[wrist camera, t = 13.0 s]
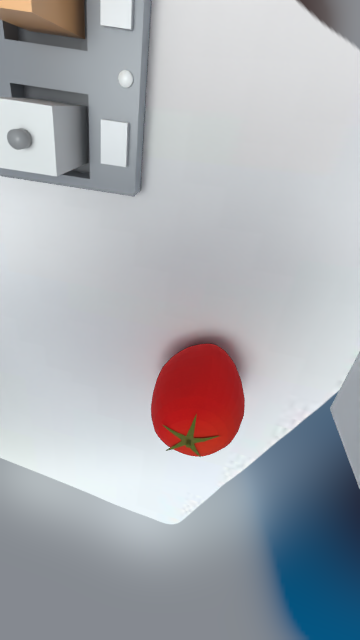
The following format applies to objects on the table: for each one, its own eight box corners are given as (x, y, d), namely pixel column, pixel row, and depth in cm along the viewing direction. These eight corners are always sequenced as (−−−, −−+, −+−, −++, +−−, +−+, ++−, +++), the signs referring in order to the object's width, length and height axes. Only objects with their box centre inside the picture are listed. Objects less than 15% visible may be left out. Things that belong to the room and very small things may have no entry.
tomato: (185, 314, 44) (174, 390, 32) (258, 351, 46) (272, 436, 34) (145, 375, 51) (123, 458, 39) (210, 405, 53) (208, 493, 41)
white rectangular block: (40, 155, 35) (-11, 169, 27) (35, 98, 32) (-23, 95, 25) (87, 163, 35) (50, 178, 27) (86, 106, 32) (45, 106, 24)
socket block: (-6, 167, 37) (-27, 173, 33) (-48, -95, 26) (-84, -122, 23) (140, 190, 36) (132, 197, 33) (155, -66, 26) (146, -89, 23)
